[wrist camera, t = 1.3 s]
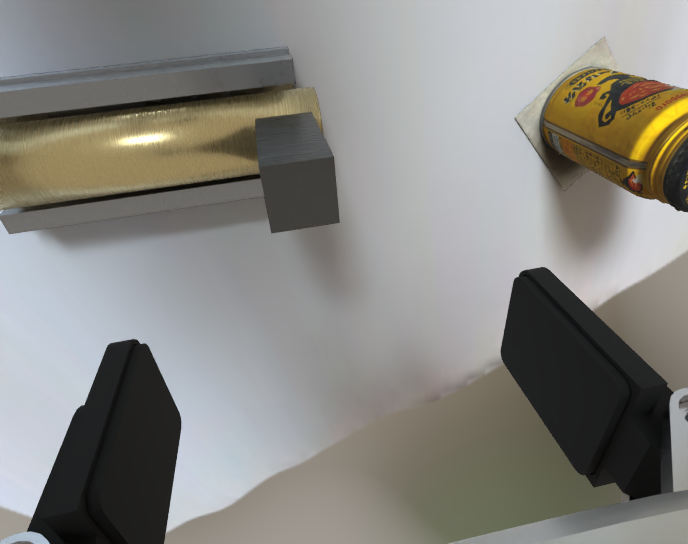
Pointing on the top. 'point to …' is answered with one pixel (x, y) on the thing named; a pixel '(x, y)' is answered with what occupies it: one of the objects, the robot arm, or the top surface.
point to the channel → (136, 92)
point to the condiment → (613, 129)
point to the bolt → (179, 154)
